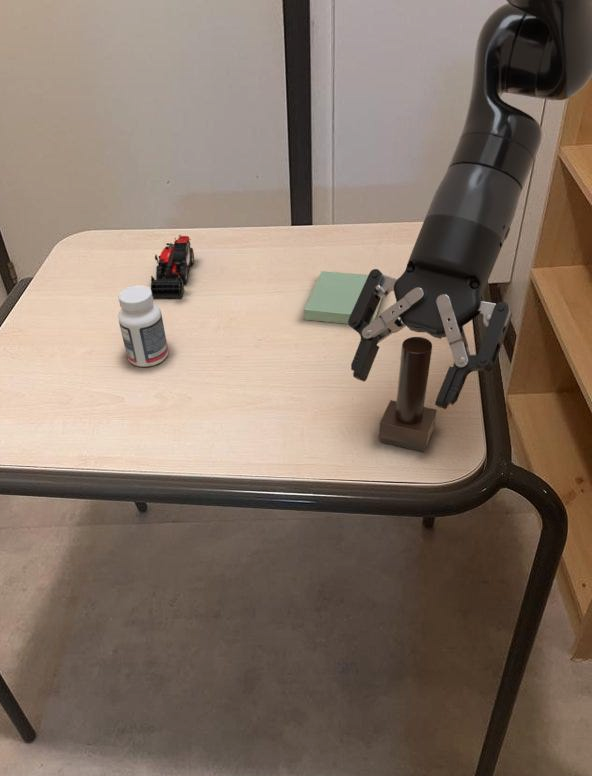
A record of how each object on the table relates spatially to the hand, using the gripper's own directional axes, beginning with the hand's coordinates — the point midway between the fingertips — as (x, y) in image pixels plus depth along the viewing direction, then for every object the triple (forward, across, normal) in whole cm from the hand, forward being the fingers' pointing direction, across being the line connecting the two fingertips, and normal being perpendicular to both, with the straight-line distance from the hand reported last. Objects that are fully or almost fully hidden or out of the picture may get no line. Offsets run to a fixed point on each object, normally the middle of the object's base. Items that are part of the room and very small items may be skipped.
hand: (398, 392), depth 69 cm
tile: (-11, -19, +23) cm, 31 cm away
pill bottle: (+5, -35, +7) cm, 36 cm away
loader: (-7, -44, +19) cm, 48 cm away
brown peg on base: (+3, 0, +8) cm, 9 cm away
